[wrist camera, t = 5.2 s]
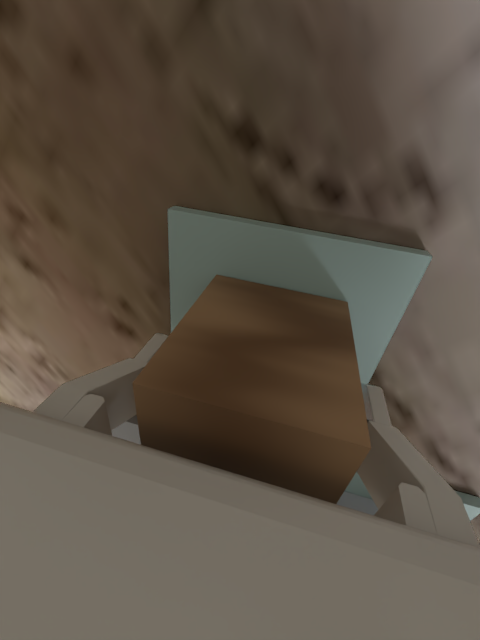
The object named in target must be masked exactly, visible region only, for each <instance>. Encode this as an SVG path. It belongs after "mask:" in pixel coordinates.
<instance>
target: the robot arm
mask: <svg viewBox="0 0 480 640" xmlns="http://www.w3.org/2000/svg"><path fill="white" fill-rule="evenodd" d="M167 338H168V335H164V334H161V333H156V334H154V336H153V337H152V338H151V339H150V340H149V341H148V343H147V344H146V345H145V346H144V347H143V348H142V349H141V351H140V352H139V353H138V354H137V355H136V356H135V358H134V359H132V358H128V359H126V360H123V361H121V362H118V363H115V364H113V365H110V366H108V367H105V368H102V369H100V370H97V371H95V372H92V373H90V374H87V375H84V376H82V377H79V378H77V379H74V380H72V381H69V382H66V383H64V384H62V385H61V386H60V387H59V388H58V389H57V390H55V391H54V392H53V393H52V394H51V395H50V396H49V397H48V398H47V399H46V400H45V401H44V402H43V403H42V404H41V405H39V406H38V407H37V408H36V409H35V410H34V411H33V412H32V411H29V410H25V409H22V408H19V407H15V406H12V405H9V404H6V403H2V402H0V640H480V546H479V543H478V540H477V538H476V535H475V533H474V530H473V527H472V525H471V522H470V520H469V517H468V515H467V512H466V509H465V507H464V504H463V502H462V499H461V497H460V496H459V495H458V494H457V493H456V492H455V491H454V490H453V489H452V488H451V487H450V485H449V484H448V483H447V482H446V481H445V480H444V479H443V478H442V477H441V476H440V475H439V473H438V472H437V471H436V470H435V469H434V468H433V467H432V466H431V465H430V464H429V462H428V461H427V460H426V459H425V458H424V457H423V456H422V455H421V454H420V453H419V452H418V450H417V449H416V448H415V447H414V446H413V445H412V444H411V443H410V442H409V441H408V440H407V438H406V437H405V436H404V435H403V434H402V433H401V432H400V431H399V430H398V429H397V428H396V427H392V425H391V421H390V417H389V413H388V409H387V405H386V401H385V397H384V393H383V389H382V388H381V387H378V386H373V385H369V384H363V383H361V387H362V393H363V399H364V406H365V412H366V418H367V424H368V430H369V437H370V443H371V450H370V451H369V453H368V454H367V456H366V458H365V459H364V461H363V462H362V464H361V465H360V467H359V469H358V470H357V473H358V475H359V476H360V478H361V480H362V482H363V483H364V485H365V487H366V489H367V490H368V492H369V494H370V496H371V498H372V499H373V501H374V503H375V505H376V506H377V508H378V511H377V512H376V513H375V514H374V515H370V514H367V513H364V512H360V511H357V510H354V509H351V508H347V507H344V506H341V505H337V504H334V503H331V502H327V501H324V500H321V499H318V498H314V497H311V496H308V495H304V494H301V493H298V492H294V491H291V490H288V489H285V488H281V487H278V486H275V485H271V484H268V483H265V482H261V481H258V480H255V479H252V478H248V477H245V476H242V475H239V474H235V473H232V472H229V471H225V470H222V469H219V468H216V467H212V466H209V465H206V464H203V463H199V462H196V461H193V460H189V459H186V458H183V457H180V456H176V455H173V454H170V453H166V452H163V451H160V450H157V449H153V448H150V447H147V446H143V445H140V444H137V443H134V442H130V441H127V440H124V439H120V438H117V437H114V436H112V432H111V431H112V430H113V429H115V428H116V427H118V426H119V425H121V424H122V423H124V422H125V421H127V420H128V419H130V418H132V417H133V416H135V415H136V414H137V413H136V406H135V399H134V391H133V384H132V383H133V381H134V380H135V379H136V378H137V376H138V375H139V374H140V372H141V371H142V370H143V369H144V367H145V366H146V365H147V363H148V362H149V361H150V359H151V358H152V357H153V356H154V354H155V353H156V352H157V350H158V349H159V348H160V347H161V345H162V344H163V343H164V341H165V340H166V339H167Z"/></svg>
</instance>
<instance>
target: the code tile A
mask: <svg viewBox="0 0 480 640" xmlns="http://www.w3.org/2000/svg"><path fill="white" fill-rule="evenodd" d="M168 241H169V278H170V315H171V332H172V331H173V330H174V329H175V327H176V326H177V325H178V323H179V322H180V321H181V319H182V318H183V317H184V316H185V314H186V313H187V312H188V310H189V309H190V308H191V307H192V305H193V304H194V303H195V301H196V300H197V299H198V298H199V296H200V295H201V294H202V292H203V291H204V290H205V289H206V287H207V286H208V285H209V283H210V282H211V281H212V279H213V278H214V277H215V276H216V275H221V276H226V277H231V278H236V279H240V280H245V281H250V282H255V283H260V284H264V285H269V286H274V287H279V288H284V289H288V290H293V291H298V292H303V293H308V294H312V295H317V296H322V297H327V298H332V299H336V300H341V301H346V302H348V306H349V313H350V319H351V325H352V331H353V337H354V344H355V350H356V356H357V362H358V368H359V375H360V381H361V383H363V384H368V383H369V381H370V379H371V377H372V375H373V373H374V371H375V369H376V367H377V365H378V363H379V361H380V359H381V357H382V355H383V353H384V351H385V349H386V347H387V345H388V343H389V341H390V339H391V338H392V336H393V334H394V332H395V330H396V328H397V326H398V324H399V322H400V320H401V318H402V316H403V314H404V312H405V310H406V308H407V306H408V304H409V302H410V300H411V298H412V296H413V294H414V292H415V290H416V288H417V287H418V285H419V283H420V281H421V279H422V277H423V275H424V273H425V271H426V269H427V267H428V265H429V263H430V261H431V259H432V256H431V255H430V254H429V252H428V251H425V250H420V249H414V248H409V247H403V246H397V245H392V244H386V243H381V242H375V241H369V240H364V239H358V238H353V237H347V236H342V235H336V234H330V233H325V232H319V231H314V230H308V229H302V228H297V227H291V226H286V225H280V224H274V223H269V222H263V221H258V220H252V219H246V218H241V217H235V216H230V215H224V214H218V213H213V212H207V211H202V210H196V209H190V208H185V207H179V206H173V207H171V208H168Z"/></svg>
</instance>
